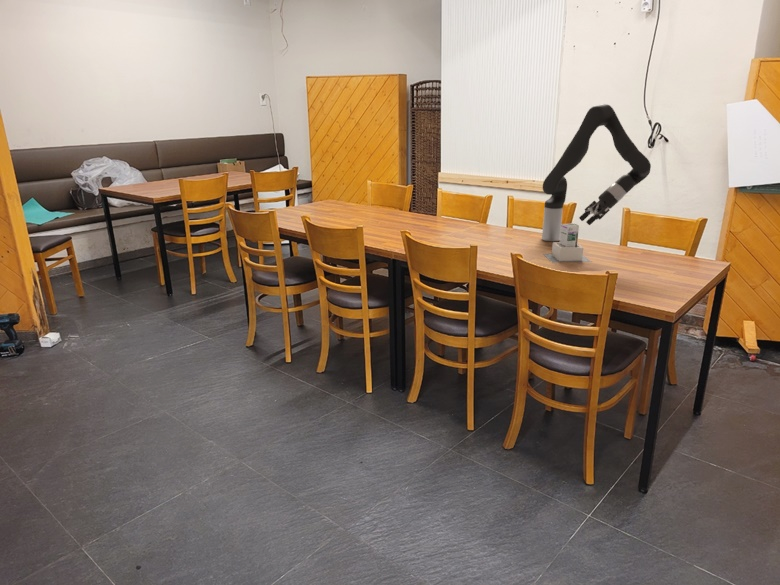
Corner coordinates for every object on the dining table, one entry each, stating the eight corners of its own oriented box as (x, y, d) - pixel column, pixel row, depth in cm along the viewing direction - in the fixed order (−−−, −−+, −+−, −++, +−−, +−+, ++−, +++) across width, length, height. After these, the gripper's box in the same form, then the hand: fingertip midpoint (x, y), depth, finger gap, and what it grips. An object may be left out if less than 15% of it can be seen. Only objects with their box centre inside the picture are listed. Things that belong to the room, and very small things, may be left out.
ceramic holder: (551, 254, 256) (552, 242, 254) (573, 254, 257) (574, 241, 255) (559, 261, 246) (560, 248, 244) (582, 260, 247) (583, 247, 245)
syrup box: (564, 257, 248) (567, 226, 243) (558, 254, 254) (561, 223, 249) (576, 256, 249) (579, 225, 245) (569, 253, 255) (572, 222, 250)
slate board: (542, 257, 258) (542, 254, 258) (579, 256, 259) (580, 253, 259) (552, 265, 245) (552, 262, 245) (591, 264, 246) (591, 261, 245)
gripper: (600, 187, 249) (573, 212, 252) (614, 192, 235) (584, 219, 239) (610, 198, 251) (583, 223, 254) (624, 204, 237) (595, 230, 241)
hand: (584, 221), depth 246 cm, fingers open, 8 cm apart
